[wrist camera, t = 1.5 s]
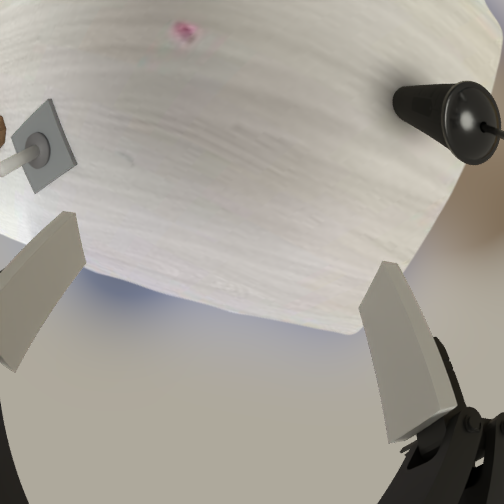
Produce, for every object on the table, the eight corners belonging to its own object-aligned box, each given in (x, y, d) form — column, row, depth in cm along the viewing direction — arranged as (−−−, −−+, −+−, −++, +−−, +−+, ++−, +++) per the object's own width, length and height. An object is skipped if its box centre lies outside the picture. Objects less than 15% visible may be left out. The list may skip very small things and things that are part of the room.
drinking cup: (402, 143, 29) (506, 214, 13) (371, 94, 26) (480, 119, 10) (441, 115, 26) (553, 165, 9) (412, 66, 23) (532, 76, 7)
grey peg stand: (13, 135, 29) (-25, 154, 21) (51, 98, 27) (6, 111, 19) (37, 192, 36) (2, 218, 28) (77, 164, 33) (36, 189, 25)
